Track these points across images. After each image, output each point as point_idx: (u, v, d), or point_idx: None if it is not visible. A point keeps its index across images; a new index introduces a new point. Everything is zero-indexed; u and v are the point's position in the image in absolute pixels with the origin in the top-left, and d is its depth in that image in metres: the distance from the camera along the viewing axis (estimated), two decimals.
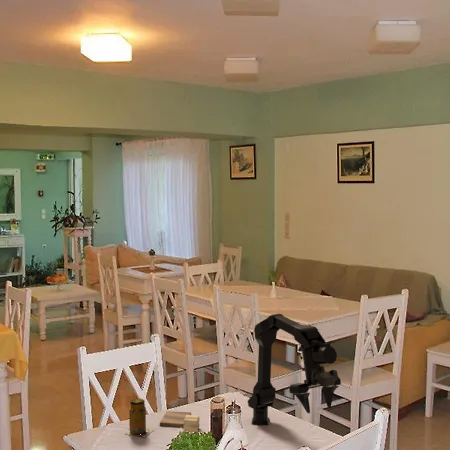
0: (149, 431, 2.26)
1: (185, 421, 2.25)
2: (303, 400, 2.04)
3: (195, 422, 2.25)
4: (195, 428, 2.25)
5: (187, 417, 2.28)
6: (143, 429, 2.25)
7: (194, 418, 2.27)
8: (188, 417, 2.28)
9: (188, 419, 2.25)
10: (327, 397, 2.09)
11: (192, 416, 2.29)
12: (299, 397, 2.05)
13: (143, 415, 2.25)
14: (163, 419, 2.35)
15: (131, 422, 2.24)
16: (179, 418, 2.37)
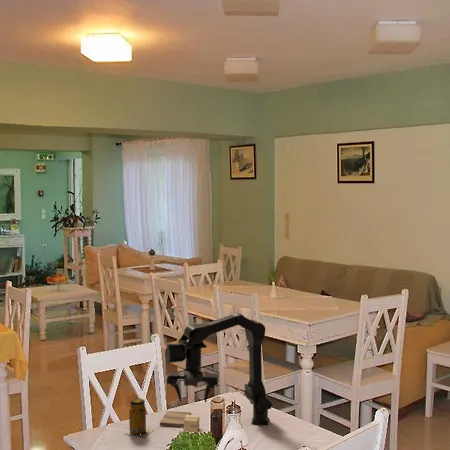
0: (149, 431, 2.26)
1: (185, 421, 2.25)
2: None
3: (195, 422, 2.25)
4: (195, 428, 2.25)
5: (187, 417, 2.28)
6: (143, 429, 2.25)
7: (194, 418, 2.27)
8: (188, 417, 2.28)
9: (188, 419, 2.25)
10: None
11: (192, 416, 2.29)
12: None
13: (143, 415, 2.25)
14: (163, 419, 2.35)
15: (131, 422, 2.24)
16: (179, 418, 2.37)
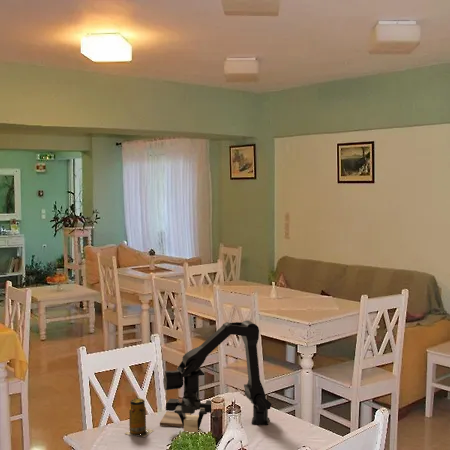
0: (149, 431, 2.26)
1: (185, 421, 2.25)
2: None
3: (195, 422, 2.25)
4: (195, 428, 2.25)
5: (187, 417, 2.28)
6: (143, 429, 2.25)
7: (194, 418, 2.27)
8: (188, 416, 2.28)
9: (188, 419, 2.25)
10: None
11: (192, 415, 2.29)
12: None
13: (143, 415, 2.25)
14: (163, 419, 2.35)
15: (131, 422, 2.24)
16: (179, 418, 2.37)
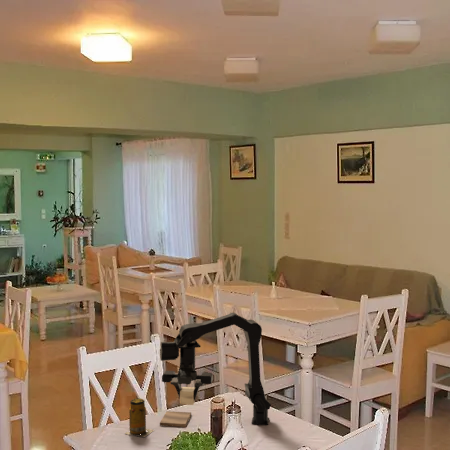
0: (149, 431, 2.26)
1: (181, 392, 2.27)
2: None
3: (191, 393, 2.26)
4: (191, 399, 2.26)
5: (183, 389, 2.29)
6: (143, 429, 2.25)
7: (190, 389, 2.28)
8: (184, 388, 2.30)
9: (184, 391, 2.27)
10: None
11: (188, 387, 2.31)
12: None
13: (143, 415, 2.25)
14: (163, 419, 2.35)
15: (131, 422, 2.24)
16: (179, 418, 2.37)
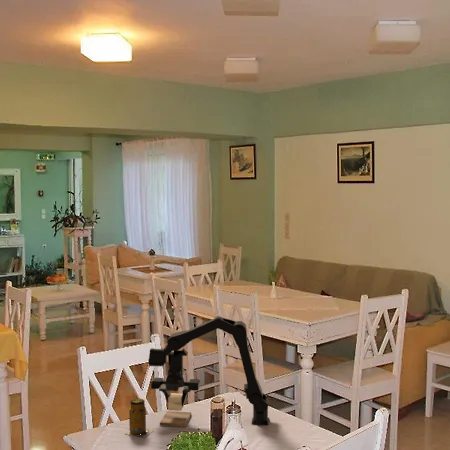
0: (149, 431, 2.26)
1: (169, 398, 2.35)
2: None
3: (179, 399, 2.34)
4: (179, 405, 2.35)
5: (171, 395, 2.37)
6: (143, 429, 2.25)
7: (178, 395, 2.37)
8: (173, 395, 2.38)
9: (172, 397, 2.35)
10: None
11: (176, 394, 2.39)
12: None
13: (143, 415, 2.25)
14: (163, 419, 2.35)
15: (131, 422, 2.24)
16: (179, 418, 2.37)
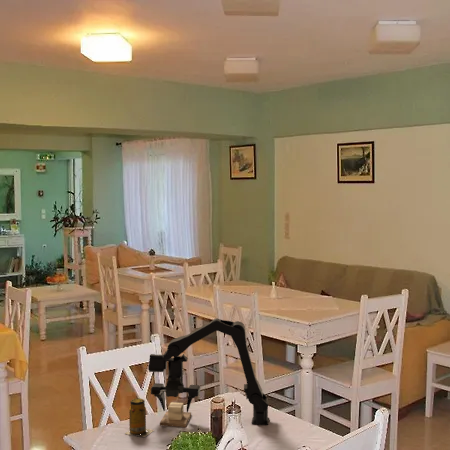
0: (149, 431, 2.26)
1: (169, 408, 2.35)
2: None
3: (179, 409, 2.35)
4: (179, 415, 2.35)
5: (171, 404, 2.38)
6: (143, 429, 2.25)
7: (178, 405, 2.37)
8: (173, 404, 2.38)
9: (172, 406, 2.35)
10: None
11: (176, 403, 2.39)
12: None
13: (143, 415, 2.25)
14: (163, 419, 2.35)
15: (131, 422, 2.24)
16: None
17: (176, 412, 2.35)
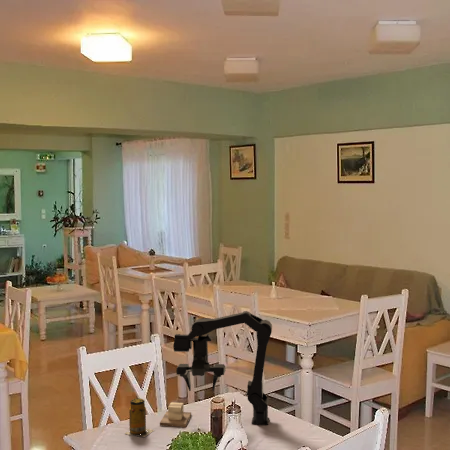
0: (149, 431, 2.26)
1: (169, 408, 2.35)
2: None
3: (179, 409, 2.35)
4: (179, 415, 2.35)
5: (171, 404, 2.38)
6: (143, 429, 2.25)
7: (178, 405, 2.37)
8: (173, 404, 2.38)
9: (172, 406, 2.35)
10: (213, 382, 2.38)
11: (176, 403, 2.39)
12: None
13: (143, 415, 2.25)
14: (163, 419, 2.35)
15: (131, 422, 2.24)
16: None
17: (176, 412, 2.35)
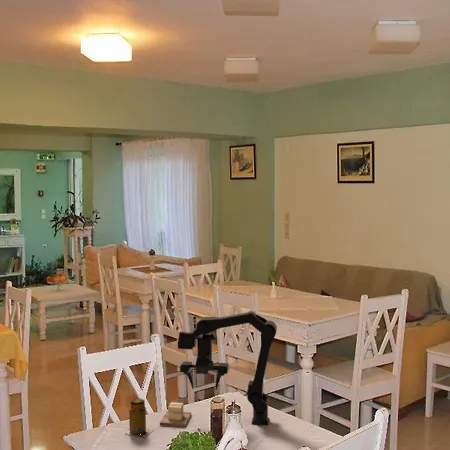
0: (149, 431, 2.26)
1: (169, 408, 2.35)
2: None
3: (179, 409, 2.35)
4: (179, 415, 2.35)
5: (171, 404, 2.38)
6: (143, 429, 2.25)
7: (178, 405, 2.37)
8: (173, 404, 2.38)
9: (172, 406, 2.35)
10: None
11: (176, 403, 2.39)
12: None
13: (143, 415, 2.25)
14: (163, 419, 2.35)
15: (131, 422, 2.24)
16: None
17: (176, 412, 2.35)
